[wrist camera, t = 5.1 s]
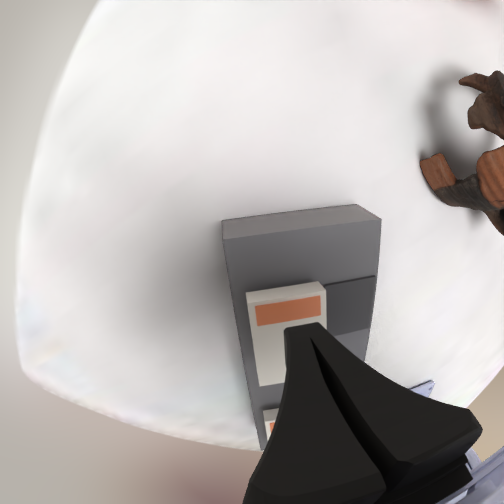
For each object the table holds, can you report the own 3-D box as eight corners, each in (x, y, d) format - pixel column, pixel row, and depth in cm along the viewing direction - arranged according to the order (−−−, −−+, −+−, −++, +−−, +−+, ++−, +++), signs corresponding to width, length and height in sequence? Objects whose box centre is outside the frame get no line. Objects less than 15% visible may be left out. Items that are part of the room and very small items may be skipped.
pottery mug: (384, 133, 15) (484, 71, 8) (427, 92, 18) (495, 50, 10) (468, 276, 17) (561, 267, 9) (493, 205, 20) (561, 187, 12)
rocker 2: (319, 359, 16) (326, 374, 14) (256, 370, 15) (259, 387, 14) (317, 279, 14) (326, 290, 13) (245, 290, 14) (247, 303, 13)
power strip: (337, 408, 24) (347, 433, 22) (257, 425, 24) (261, 452, 21) (356, 204, 16) (383, 220, 14) (222, 220, 16) (222, 241, 13)
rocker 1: (312, 441, 19) (317, 453, 18) (268, 449, 19) (271, 462, 18) (312, 399, 18) (317, 412, 17) (262, 408, 18) (265, 422, 17)
